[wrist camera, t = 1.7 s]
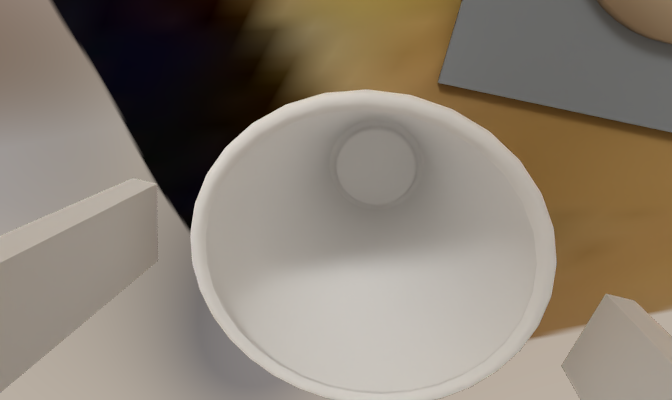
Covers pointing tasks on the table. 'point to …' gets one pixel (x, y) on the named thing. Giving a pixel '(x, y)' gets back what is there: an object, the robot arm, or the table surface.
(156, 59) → the table surface
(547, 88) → the placemat
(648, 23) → the coaster
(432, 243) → the cup
